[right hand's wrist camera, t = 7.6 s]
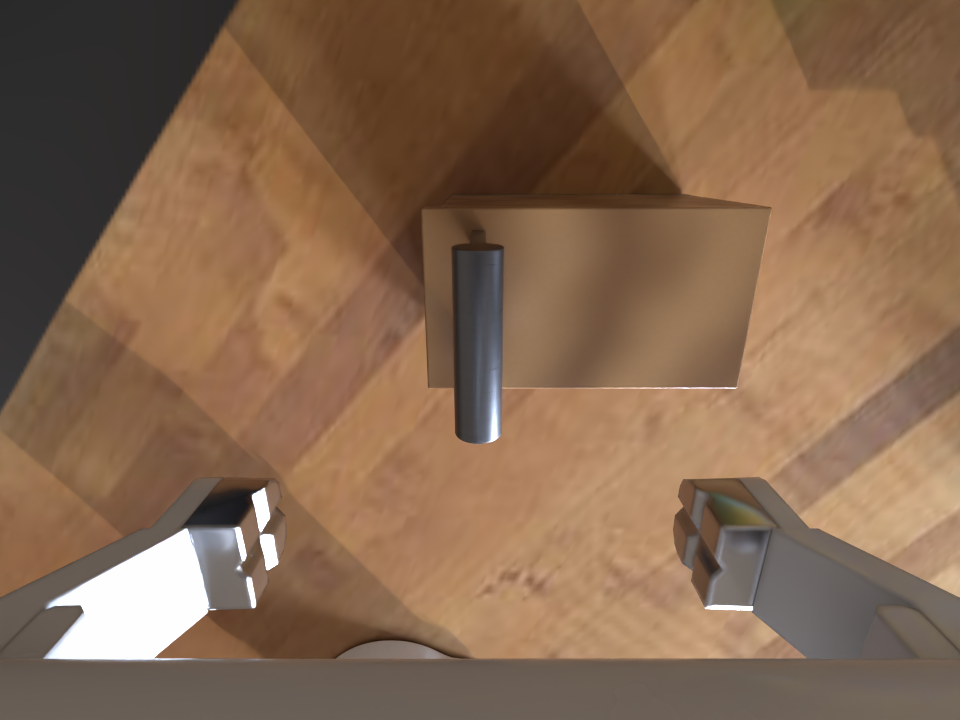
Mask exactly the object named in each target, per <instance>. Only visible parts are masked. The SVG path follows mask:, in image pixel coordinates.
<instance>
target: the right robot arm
mask: <svg viewBox="0 0 960 720" xmlns="http://www.w3.org/2000/svg"><path fill="white" fill-rule="evenodd" d="M281 498H282V494H281V490H280V485H279V482H278V481H277V480H276V479H273V478H223V477H204V478H199V479H195V480H194V482H193V483H192V484H191V485H190V486H189V487H188V488H187V489H186V490H185V491H184V492H183V493H182V495H181V496H180V497H179V498H178V499H177V500H176V501H175V502H174V503H173V504H172V505H171V507H170V508H169V509H168V510H167V511H166V512H165V513H164V514H163V515H162V516H161V517H160V519H159V520H158V521H157V522H156V523H155V524H154V525H153V526H152V527H151V528H150V529H140V530H138V531H136V532H134V533H132V534H130V535H128V536H126V537H124V538H122V539H120V540H118V541H116V542H113V543H111V544H109V545H107V546H105V547H103V548H101V549H99V550H97V551H95V552H93V553H91V554H89V555H87V556H85V557H83V558H81V559H79V560H77V561H74V562H72V563H70V564H68V565H66V566H64V567H62V568H60V569H58V570H56V571H54V572H52V573H50V574H48V575H46V576H44V577H42V578H40V579H37V580H35V581H33V582H31V583H29V584H27V585H25V586H23V587H21V588H19V589H17V590H15V591H13V592H11V593H9V594H7V595H5V596H3V597H1V598H0V720H960V598H959V597H957V596H955V595H953V594H951V593H949V592H947V591H945V590H943V589H941V588H939V587H937V586H935V585H932V584H930V583H928V582H926V581H924V580H922V579H920V578H918V577H916V576H914V575H912V574H910V573H908V572H906V571H904V570H902V569H900V568H898V567H896V566H894V565H891V564H889V563H887V562H885V561H883V560H881V559H879V558H877V557H875V556H873V555H871V554H869V553H867V552H865V551H863V550H861V549H859V548H857V547H855V546H853V545H851V544H848V543H846V542H844V541H842V540H840V539H838V538H836V537H834V536H832V535H830V534H828V533H826V532H824V531H822V530H820V529H810V528H809V527H808V526H807V525H806V524H805V523H804V522H803V521H802V520H801V519H800V517H799V516H798V515H797V514H796V513H795V512H794V511H793V510H792V509H791V508H790V507H789V505H788V504H787V503H786V502H785V501H784V500H783V499H782V498H781V497H780V496H779V495H778V493H777V492H776V491H775V490H774V489H773V488H772V487H771V486H770V485H769V484H768V483H767V481H766V480H764V479H762V478H760V477H746V478H724V479H683V481H682V483H681V485H680V489H679V494H678V498H679V499H680V501H681V503H682V504H683V506H684V507H683V508H682V509H681V510H680V511H679V512H678V513H677V514H676V515H675V519H674V527H673V533H674V543H675V547H676V550H677V554H678V556H679V558H680V560H681V562H682V564H684V565H685V566H687V567H688V568H689V569H691V570H692V571H693V573H692V579H691V582H692V584H693V586H694V587H695V589H696V591H697V593H698V595H699V597H700V599H701V601H702V603H703V605H704V607H705V609H735V610H752V613H754V614H755V615H756V616H757V617H758V618H760V619H761V620H762V621H763V622H764V623H766V624H767V625H768V626H769V627H770V628H772V629H773V630H774V631H775V632H776V633H778V634H779V635H780V636H781V637H783V638H784V639H785V640H786V641H787V642H789V643H790V644H791V645H792V646H793V647H795V648H796V649H797V650H798V651H799V652H801V653H802V654H803V655H804V656H805V657H807V658H808V659H460V658H452V657H449V656H446V655H444V654H442V653H440V652H438V651H436V650H434V649H431V648H429V647H426V646H423V645H420V644H416V643H412V642H406V641H395V640H387V641H376V642H370V643H366V644H362V645H359V646H356V647H354V648H352V649H350V650H348V651H346V652H344V653H343V654H341V655H340V656H339V657H337V658H336V659H152V658H153V657H155V656H156V655H157V654H158V653H160V652H161V651H162V650H163V649H164V648H166V647H167V646H168V645H169V644H170V643H172V642H173V641H174V640H175V639H176V638H178V637H179V636H180V635H181V634H182V633H184V632H185V631H186V630H187V629H189V628H190V627H191V626H192V625H193V624H195V623H196V622H197V621H198V620H199V619H201V618H202V617H203V616H204V615H205V614H207V613H208V610H224V609H255V607H256V605H257V603H258V601H259V599H260V597H261V595H262V593H263V591H264V589H265V587H266V586H267V584H268V582H269V579H268V573H267V571H268V570H269V569H271V568H272V567H273V566H275V565H276V564H278V562H279V560H280V558H281V556H282V554H283V551H284V546H285V542H286V531H287V525H286V519H285V515H284V514H283V513H282V512H281V511H280V510H279V509H278V508H277V507H276V506H277V504H278V503H279V501H280V499H281Z"/></svg>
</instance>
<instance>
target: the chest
mask: <svg viewBox="0 0 960 720" xmlns="http://www.w3.org/2000/svg"><path fill="white" fill-rule="evenodd" d="M704 205H753V204H746V203H739V202H732V201H726V200H719V199H712V198H705V197H698V196H691V195H686V194H542V195H451V196H450V197H449V198H448V199H447V201H446V202H445V203H444V204H443V205H442V206H704Z"/></svg>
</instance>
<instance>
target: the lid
mask: <svg viewBox="0 0 960 720" xmlns="http://www.w3.org/2000/svg"><path fill="white" fill-rule="evenodd" d="M771 211H772V208H771V207H766V206H759V205H704V206H424V207H422V208H421V227H422V251H423V275H424V300H425V324H426V348H427V372H428V388H454V402H455V434H456V436H457V437H458V438H459V439H460V440H462V441H465V442H468V443H474V444H483V443H489V442H492V441H494V440H496V439H498V438H499V437H500V435H501V433H502V388H737V386H738V381H739V376H740V371H741V365H742V360H743V355H744V350H745V345H746V340H747V335H748V329H749V324H750V319H751V314H752V309H753V304H754V299H755V293H756V288H757V283H758V278H759V273H760V268H761V263H762V257H763V252H764V247H765V242H766V237H767V232H768V227H769V221H770V216H771Z"/></svg>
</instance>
